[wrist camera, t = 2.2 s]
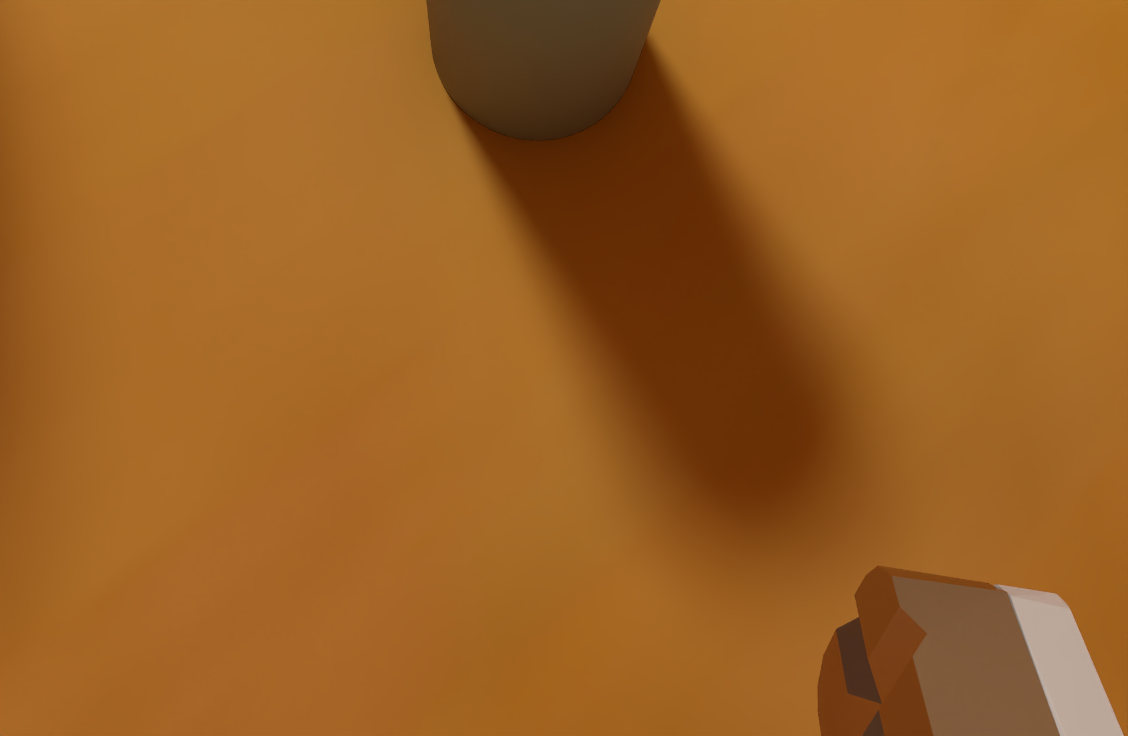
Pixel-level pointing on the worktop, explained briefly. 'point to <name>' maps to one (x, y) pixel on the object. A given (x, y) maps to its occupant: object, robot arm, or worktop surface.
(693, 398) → the worktop surface
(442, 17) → the tea tin
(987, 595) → the robot arm
